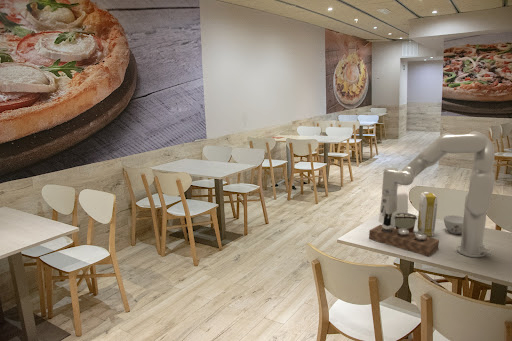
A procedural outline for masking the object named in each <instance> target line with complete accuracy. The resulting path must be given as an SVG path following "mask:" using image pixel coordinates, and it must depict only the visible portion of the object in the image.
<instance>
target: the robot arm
mask: <svg viewBox="0 0 512 341" xmlns="http://www.w3.org/2000/svg"><path fill="white" fill-rule="evenodd" d="M472 153H473V160H472V168H471V173H470V176H469V187H468V192H467V194H466V196H465V198H464V199H465V200H464V209H463V211H464V212H463V217H464V219H463V227H462V232H461V236H460V244H459V245H458V246H457V247H456V252H457V253H459V254H460V255H463V256H465V257H469V258H482V257H485V256H486V255H489V256H491V255H492V254H493V252H492V250H491V249H490V248H486V247H485V244H484V236H485V229H486V222H487V212H488V211H489V210H490V207H491V203H492V202H491V201H492V197H493V192H494V187H495V186H494V184H495V182H494V178H493V172H494V164H495V157H496V155H495V153H496V152H495V147H494V143H493V142H492V140H491V139H490V138H489V137H488V136H487V135H486V134H484V133H482V132H480V131H476V130H472V131H470V132H469V133H466V134H453V133H451V132H444V133H443V134H441V135H439V136H438V137H437V138H436V139H435V140H434V141H433V142H431V143H430V144H429V145H428V146H427V147H426V148H425V149H423V150H422V151H421V152H420V153H419V154H418V155H417V156H416V157H414V158H413V159H412V160H411V161H410V162H409V163H408V164H406V165H405V166H404V167H403V168H401V170H399V169H397V168H394V167H385V168H384V169H383V175H382V176H383V178H382V185H381V187H382V189H381V198H382V201H381V200H380V207H381V213H382V216H384V225H387V226H389V225H391V217H392V213H394V212H395V211H396V210H397V188H398V184H401V185H402V186H409V185H411V184H413V183H414V180H415V178H416V177H418V175H420V174H421V173H422V172H423V171H425V170H426V169H427V168H430V167H432V166H434V165H436V164H437V163H438V162H439V161H441V159H443V158H444V157H445V156H447V154H472ZM382 194H383V195H382Z"/></svg>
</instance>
